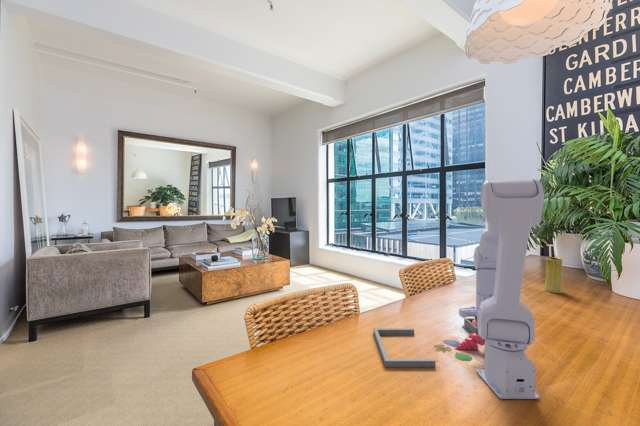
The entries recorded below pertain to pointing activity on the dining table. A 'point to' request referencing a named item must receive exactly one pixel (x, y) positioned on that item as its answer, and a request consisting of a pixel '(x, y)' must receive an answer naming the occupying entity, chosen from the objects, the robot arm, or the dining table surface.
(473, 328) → the dome base
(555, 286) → the vase
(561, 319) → the dining table surface
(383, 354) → the frame
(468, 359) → the toy pieces
